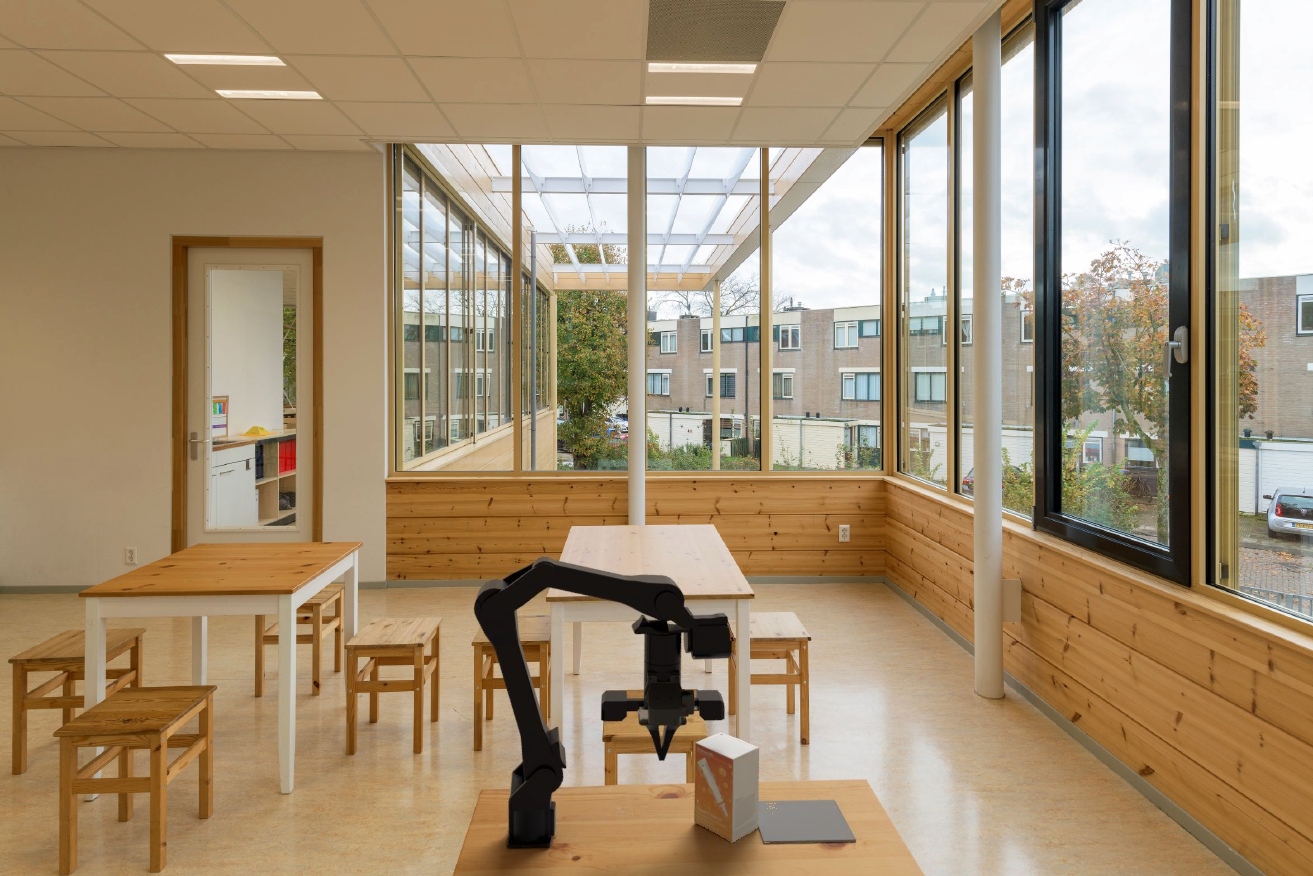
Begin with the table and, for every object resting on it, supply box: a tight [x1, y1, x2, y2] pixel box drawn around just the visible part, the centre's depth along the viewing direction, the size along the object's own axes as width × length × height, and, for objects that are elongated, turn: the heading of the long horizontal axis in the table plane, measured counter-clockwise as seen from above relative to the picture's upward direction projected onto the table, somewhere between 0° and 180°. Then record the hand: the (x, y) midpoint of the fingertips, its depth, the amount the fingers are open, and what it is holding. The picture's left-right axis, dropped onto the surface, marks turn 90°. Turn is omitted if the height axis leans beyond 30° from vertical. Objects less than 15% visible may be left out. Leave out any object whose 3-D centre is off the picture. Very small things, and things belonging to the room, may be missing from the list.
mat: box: [758, 799, 857, 844], centre depth 126 cm, size 14×12×1 cm
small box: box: [693, 731, 760, 844], centre depth 124 cm, size 8×6×13 cm
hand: (661, 759), depth 124 cm, fingers closed
